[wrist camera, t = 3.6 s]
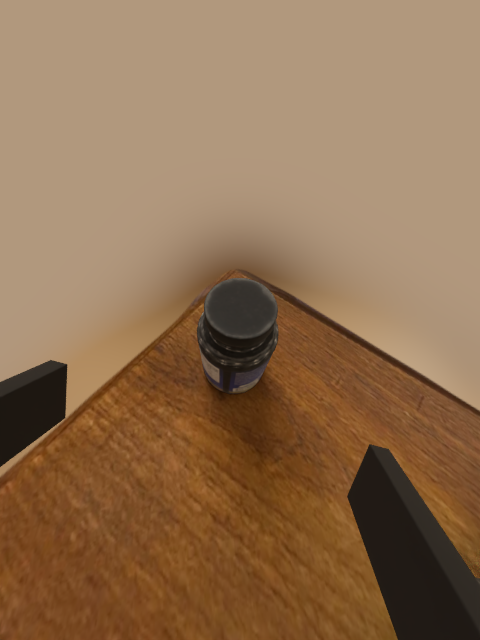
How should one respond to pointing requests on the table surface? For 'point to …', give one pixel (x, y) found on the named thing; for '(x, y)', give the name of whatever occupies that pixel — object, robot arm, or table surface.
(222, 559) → the table surface
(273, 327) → the pill bottle
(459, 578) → the robot arm
